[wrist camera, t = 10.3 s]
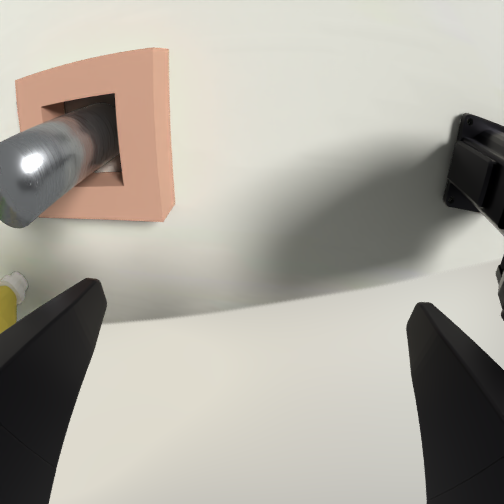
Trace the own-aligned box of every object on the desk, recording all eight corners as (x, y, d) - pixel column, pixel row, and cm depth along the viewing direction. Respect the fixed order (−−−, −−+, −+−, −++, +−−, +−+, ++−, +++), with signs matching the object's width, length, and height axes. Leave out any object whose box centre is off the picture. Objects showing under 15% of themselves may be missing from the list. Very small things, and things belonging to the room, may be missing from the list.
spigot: (124, 99, 16) (26, 137, 9) (129, 159, 18) (47, 229, 11) (73, 106, 16) (-27, 150, 9) (80, 162, 19) (-7, 227, 11)
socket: (168, 48, 14) (152, 47, 12) (175, 203, 20) (163, 221, 18) (38, 75, 15) (15, 80, 13) (57, 201, 21) (39, 217, 18)
